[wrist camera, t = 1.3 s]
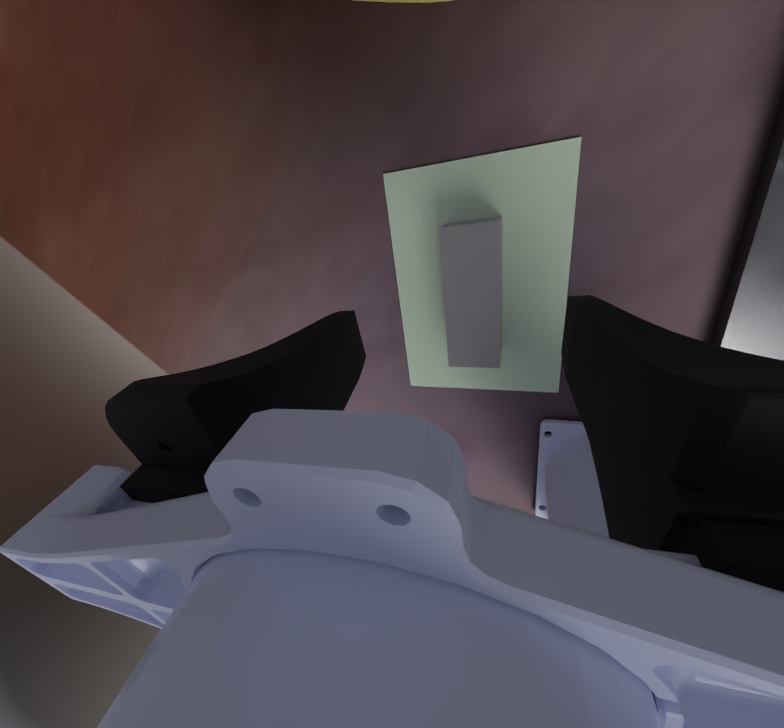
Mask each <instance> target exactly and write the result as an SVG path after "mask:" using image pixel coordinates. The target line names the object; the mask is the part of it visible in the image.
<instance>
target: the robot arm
mask: <svg viewBox="0 0 784 728" xmlns="http://www.w3.org/2000/svg"><path fill="white" fill-rule="evenodd" d="M561 355H562V360H563V366H564V371H565V376H566V379H567V382H568V385H569V387H570V390H571V393H572V396H573V398H574V401H575V404H576V406H577V409H578V412H579V414H580V417H581V420H582V422H580V421H566V420H552V419H546V420H543V421H542V422H541V424H540V436H539V452H538V468H537V485H536V501H535V515H533V514H529V513H526V512H523V511H520V510H517V509H513V508H510V507H507V506H504V505H500V504H497V503H494V502H491V501H487V500H484V499H481V498H478V497H475V496H473V495H472V494H471V493H470V491H469V488H468V484H467V475H466V462H465V459H464V456H463V454H462V452H461V450H460V448H459V446H458V444H457V442H456V440H455V438H454V437H453V436H451V435H450V434H448V433H447V432H445V431H444V430H443V429H441V428H440V427H438V426H437V425H435V424H434V423H433V422H431V421H430V420H428V419H424V418H419V417H415V416H411V415H406V414H402V413H397V412H372V411H343V410H344V408H345V406H346V404H347V402H348V400H349V398H350V396H351V394H352V392H353V390H354V388H355V386H356V384H357V382H358V380H359V378H360V375H361V372H362V369H363V365H364V362H365V358H366V355H365V351H364V347H363V343H362V339H361V335H360V331H359V327H358V323H357V320H356V316H355V312H354V310H352V311H339V312H336V313H333V314H331V315H328V316H326V317H324V318H322V319H320V320H318V321H316V322H315V323H313V324H311V325H309V326H307V327H305V328H303V329H302V330H300V331H298V332H296V333H294V334H292V335H290V336H288V337H286V338H284V339H282V340H280V341H278V342H276V343H273V344H271V345H269V346H267V347H264V348H262V349H259V350H257V351H254V352H252V353H249V354H246V355H244V356H240V357H237V358H234V359H231V360H228V361H225V362H222V363H218V364H215V365H211V366H207V367H203V368H199V369H195V370H191V371H186V372H181V373H176V374H171V375H165V376H159V377H153V378H148V379H141V380H138V381H135V382H133V383H131V384H130V385H128V386H127V387H126V388H125V389H123V390H122V391H120V392H119V393H118V394H116V395H115V396H113V397H112V398H111V399H110V400H108V401H107V404H106V406H105V412H106V418H107V420H108V422H109V425H110V426H111V428H112V429H113V430H114V432H115V433H116V434H117V436H118V437H119V438H120V439H121V440H122V441H123V443H124V444H125V445H126V446H127V447H128V448H129V449H130V451H131V452H132V453H133V454H134V455H135V456H136V457H137V459H138V460H139V461H140V462H141V463H143V464H142V465H141V466H140V467H139V468H138V469H137V470H136V471H135V472H134V473H133V472H131V471H129V470H127V469H125V468H120V467H111V466H101V465H96V466H93V467H92V468H91V469H90V470H89V471H87V472H86V473H85V474H84V475H83V476H82V477H80V478H79V479H78V480H77V481H76V482H75V483H74V484H72V485H71V486H70V487H69V488H68V489H67V490H66V491H64V492H63V493H62V494H61V495H60V496H58V497H57V498H56V499H55V500H54V501H53V502H52V503H50V504H49V505H48V506H47V507H46V508H45V509H44V510H42V511H41V512H40V513H39V514H38V515H36V517H34V518H33V519H32V520H31V521H30V522H28V523H27V524H26V525H25V526H24V527H22V528H21V529H20V530H19V531H18V532H17V533H16V534H14V535H13V536H12V537H11V538H10V539H9V540H7V541H6V543H4V544H3V545H2V546H1V547H0V553H2V554H3V555H5V556H7V557H8V558H10V559H11V560H13V561H14V562H16V563H17V564H19V565H21V566H22V567H24V568H25V569H26V570H28V571H30V572H31V573H33V574H34V575H36V576H37V577H39V578H41V579H42V580H43V581H45V582H47V583H48V584H50V585H51V586H53V587H54V588H56V589H57V590H59V591H60V592H62V593H63V594H65V595H67V596H68V597H70V598H71V599H74V600H78V601H81V602H85V603H88V604H92V605H95V606H98V607H101V608H104V609H108V610H110V611H113V612H116V613H119V614H122V615H125V616H128V617H131V618H134V619H136V620H139V621H142V622H145V623H147V624H150V625H153V626H156V627H158V628H161V630H160V632H159V633H158V635H157V636H156V638H155V639H154V641H153V643H152V644H151V646H150V647H149V649H148V650H147V652H146V653H145V655H144V656H143V658H142V659H141V661H140V662H139V664H138V666H137V667H136V669H135V670H134V672H133V673H132V675H131V676H130V678H129V679H128V681H127V683H126V684H125V686H124V687H123V689H122V690H121V692H120V693H119V695H118V696H117V698H116V699H115V701H114V703H113V704H112V706H111V707H110V709H109V710H108V712H107V713H106V715H105V716H104V718H103V719H102V721H101V722H100V724H99V726H98V727H97V728H784V360H779V359H774V358H769V357H764V356H759V355H754V354H750V353H745V352H741V351H737V350H733V349H729V348H724V347H721V346H717V345H713V344H709V343H706V342H703V341H700V340H696V339H693V338H690V337H687V336H684V335H681V334H678V333H675V332H672V331H669V330H667V329H664V328H662V327H659V326H657V325H655V324H652V323H650V322H647V321H645V320H643V319H641V318H638V317H636V316H634V315H632V314H630V313H628V312H626V311H623V310H621V309H619V308H617V307H615V306H613V305H611V304H609V303H607V302H605V301H603V300H601V299H599V298H596V297H594V296H591V295H587V296H571V297H568V298H567V307H566V315H565V323H564V332H563V340H562V349H561ZM546 431H549V432H551V433H550V434H546V433H545V432H546ZM540 505H544V506H540Z"/></svg>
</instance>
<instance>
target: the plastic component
mask: <svg viewBox="0 0 784 728" xmlns="http://www.w3.org/2000/svg"><path fill="white" fill-rule="evenodd" d="M354 1H373V2H409V3H430V2H443V1H453V0H354Z"/></svg>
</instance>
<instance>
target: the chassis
mask: <svg viewBox="0 0 784 728" xmlns="http://www.w3.org/2000/svg"><path fill="white" fill-rule="evenodd" d="M710 344H713V345H717V346H721V347H724V348H729V349H733V350H737V351H741V352H745V353H750V354H754V355H759V356H764V357H769V358H774V359H779V360H784V90H783V93H782V97H781V100H780V104H779V107H778V111H777V114H776V117H775V121H774V124H773V128H772V131H771V135H770V138H769V141H768V145H767V148H766V152H765V155H764V159H763V162H762V166H761V169H760V172H759V176H758V179H757V183H756V186H755V190H754V193H753V197H752V200H751V203H750V207H749V210H748V214H747V217H746V221H745V224H744V227H743V231H742V234H741V238H740V241H739V245H738V248H737V252H736V255H735V258H734V262H733V265H732V269H731V272H730V276H729V279H728V283H727V286H726V289H725V293H724V296H723V300H722V303H721V307H720V310H719V313H718V317H717V320H716V324H715V327H714V331H713V334H712V338H711V341H710Z"/></svg>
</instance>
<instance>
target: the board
mask: <svg viewBox="0 0 784 728" xmlns="http://www.w3.org/2000/svg"><path fill="white" fill-rule="evenodd" d="M580 148H581V137H577V138H572V139H567V140H561V141H556V142H551V143H545V144H540V145H535V146H529V147H524V148H519V149H513V150H508V151H503V152H498V153H492V154H487V155H482V156H476V157H471V158H466V159H460V160H455V161H450V162H445V163H439V164H434V165H429V166H423V167H418V168H413V169H407V170H402V171H397V172H391V173H386V174H383V178H384V185H385V193H386V201H387V208H388V216H389V224H390V231H391V239H392V246H393V254H394V262H395V269H396V277H397V284H398V292H399V300H400V307H401V315H402V322H403V330H404V338H405V345H406V353H407V360H408V368H409V376H410V383H411V386H427V387H448V388H469V389H490V390H510V391H531V392H552V393H559V382H560V371H561V360H562V355H561V349H562V340H563V332H564V323H565V315H566V304H567V293H568V282H569V270H570V259H571V248H572V237H573V226H574V215H575V203H576V192H577V181H578V170H579V159H580Z"/></svg>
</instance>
